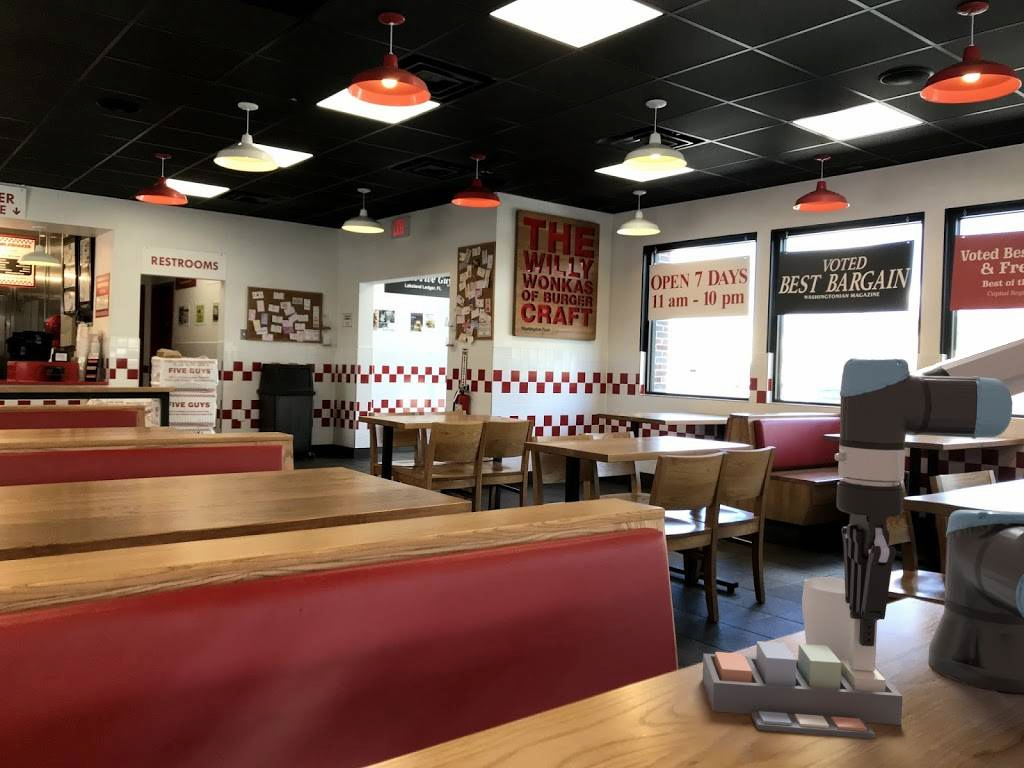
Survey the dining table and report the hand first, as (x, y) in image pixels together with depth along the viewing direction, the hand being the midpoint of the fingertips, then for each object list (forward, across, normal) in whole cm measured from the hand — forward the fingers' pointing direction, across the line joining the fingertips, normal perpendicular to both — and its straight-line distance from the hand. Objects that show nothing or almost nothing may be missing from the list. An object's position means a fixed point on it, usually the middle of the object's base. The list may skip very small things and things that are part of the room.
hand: (861, 667), depth 100 cm
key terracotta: (+4, 0, -16) cm, 16 cm away
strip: (+5, +8, -8) cm, 12 cm away
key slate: (+2, 0, -11) cm, 11 cm away
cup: (+5, -12, 0) cm, 13 cm away
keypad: (+5, 0, -8) cm, 9 cm away
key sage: (+2, 0, -5) cm, 6 cm away
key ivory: (+4, 0, 0) cm, 4 cm away
